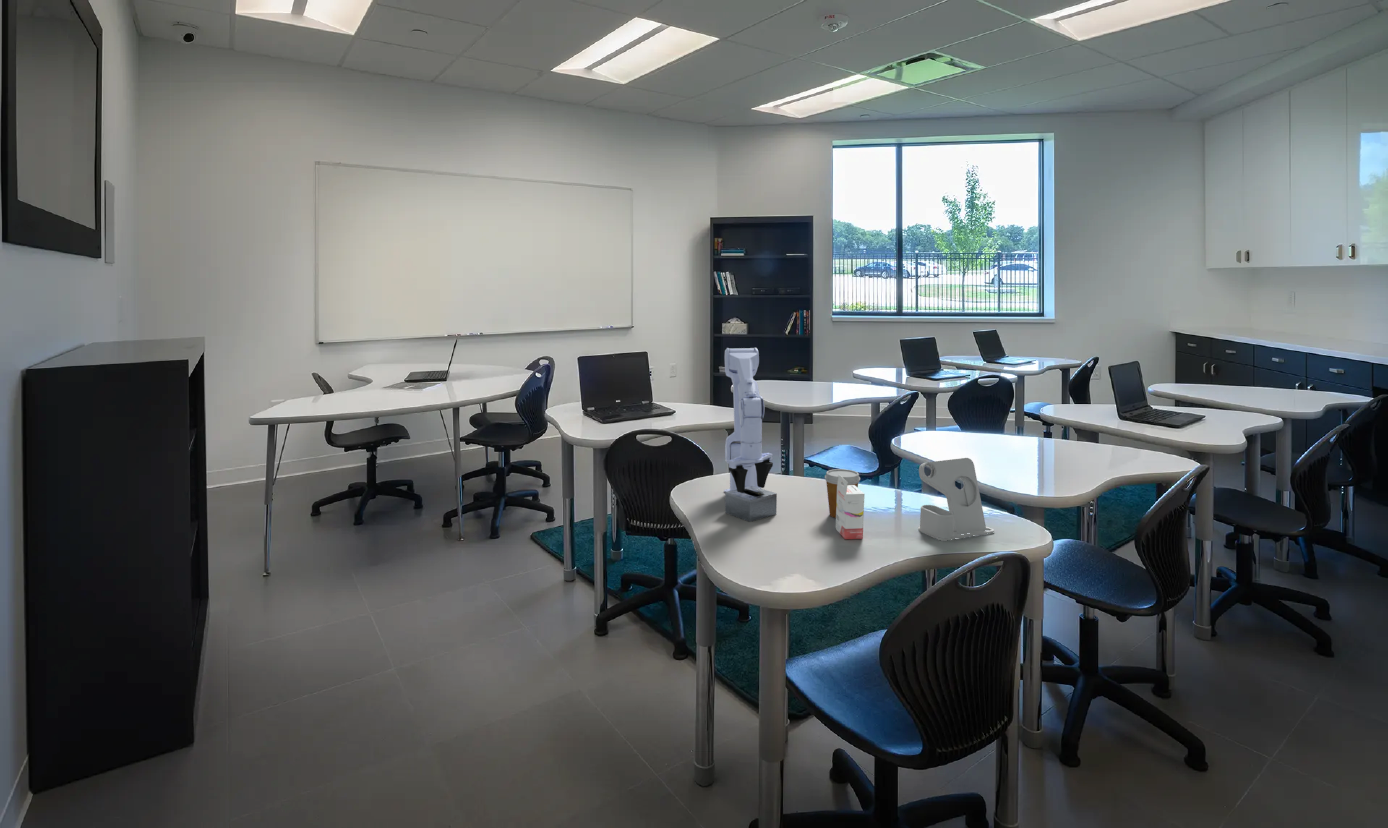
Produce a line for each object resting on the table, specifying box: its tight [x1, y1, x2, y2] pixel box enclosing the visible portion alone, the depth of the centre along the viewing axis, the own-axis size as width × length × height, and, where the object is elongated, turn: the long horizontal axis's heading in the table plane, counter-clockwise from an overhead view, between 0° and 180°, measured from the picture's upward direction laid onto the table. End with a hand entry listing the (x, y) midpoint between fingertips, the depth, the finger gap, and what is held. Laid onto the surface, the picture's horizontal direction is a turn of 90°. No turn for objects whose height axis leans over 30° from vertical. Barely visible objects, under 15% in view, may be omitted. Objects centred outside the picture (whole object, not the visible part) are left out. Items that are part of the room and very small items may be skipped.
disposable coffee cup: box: [824, 468, 861, 519], centre depth 194 cm, size 10×10×12 cm
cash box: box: [724, 486, 778, 523], centre depth 197 cm, size 10×10×6 cm
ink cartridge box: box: [835, 475, 865, 540], centre depth 180 cm, size 9×5×15 cm, turn 5°
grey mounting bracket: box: [917, 457, 995, 542], centre depth 181 cm, size 17×10×18 cm, turn 111°
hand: (750, 489), depth 196 cm, fingers open, 7 cm apart
